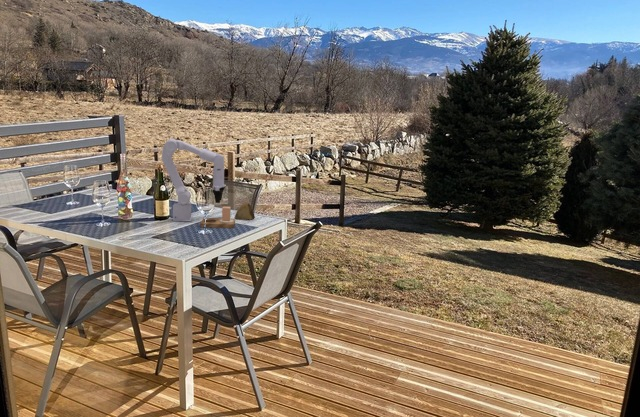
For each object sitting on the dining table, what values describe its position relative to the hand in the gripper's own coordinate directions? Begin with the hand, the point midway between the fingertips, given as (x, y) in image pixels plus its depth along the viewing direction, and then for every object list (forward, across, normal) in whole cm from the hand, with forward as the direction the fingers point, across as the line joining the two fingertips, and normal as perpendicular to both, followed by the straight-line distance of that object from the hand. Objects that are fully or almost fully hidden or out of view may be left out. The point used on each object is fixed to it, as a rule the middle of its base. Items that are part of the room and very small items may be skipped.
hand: (218, 201), depth 260 cm
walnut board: (+10, -11, -1) cm, 15 cm away
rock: (+11, +4, -14) cm, 18 cm away
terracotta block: (+8, -11, -5) cm, 14 cm away
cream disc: (+8, -11, -6) cm, 15 cm away
